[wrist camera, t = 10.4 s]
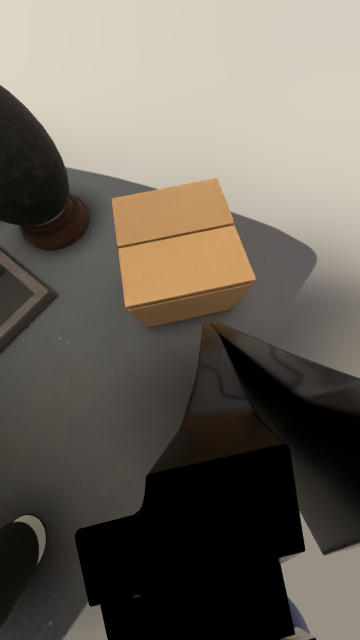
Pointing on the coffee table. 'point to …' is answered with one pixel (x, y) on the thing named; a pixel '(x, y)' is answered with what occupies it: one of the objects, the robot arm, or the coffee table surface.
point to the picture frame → (19, 298)
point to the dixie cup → (18, 559)
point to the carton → (168, 222)
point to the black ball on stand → (35, 181)
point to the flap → (183, 266)
